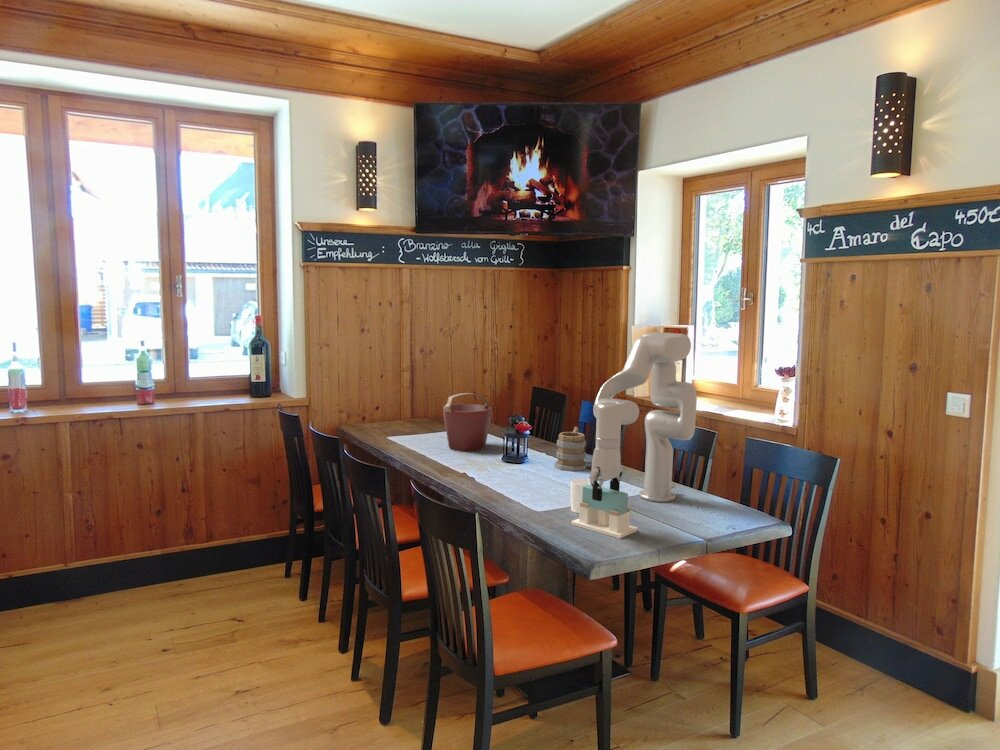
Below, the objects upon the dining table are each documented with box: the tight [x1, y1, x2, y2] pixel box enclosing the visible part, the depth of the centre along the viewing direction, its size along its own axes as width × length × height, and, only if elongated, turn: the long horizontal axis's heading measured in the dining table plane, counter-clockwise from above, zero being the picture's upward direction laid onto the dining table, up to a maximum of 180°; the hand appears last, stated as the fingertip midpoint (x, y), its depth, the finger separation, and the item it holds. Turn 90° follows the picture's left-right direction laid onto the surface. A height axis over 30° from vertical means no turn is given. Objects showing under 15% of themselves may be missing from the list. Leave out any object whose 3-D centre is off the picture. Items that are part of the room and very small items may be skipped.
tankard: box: [554, 426, 588, 472], centre depth 304 cm, size 20×13×15 cm, turn 162°
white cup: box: [569, 478, 591, 514], centre depth 242 cm, size 8×8×10 cm
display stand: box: [570, 502, 639, 539], centre depth 226 cm, size 10×18×7 cm, turn 49°
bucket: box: [442, 392, 493, 452], centre depth 332 cm, size 24×22×25 cm
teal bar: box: [582, 484, 629, 515], centre depth 225 cm, size 4×14×6 cm, turn 48°
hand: (605, 496), depth 225 cm, fingers open, 9 cm apart
